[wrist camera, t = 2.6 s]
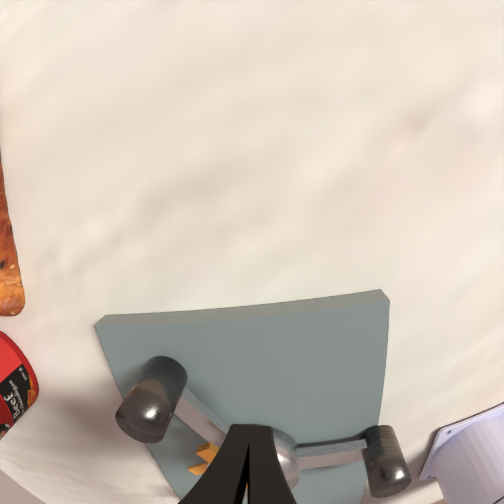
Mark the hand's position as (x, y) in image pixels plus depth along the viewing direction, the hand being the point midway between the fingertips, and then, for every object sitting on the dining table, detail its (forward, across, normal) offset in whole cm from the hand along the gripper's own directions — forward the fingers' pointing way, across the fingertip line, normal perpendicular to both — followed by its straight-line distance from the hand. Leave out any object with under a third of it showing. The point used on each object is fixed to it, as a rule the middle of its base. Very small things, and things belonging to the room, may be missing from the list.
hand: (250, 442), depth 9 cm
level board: (+8, 0, +10) cm, 12 cm away
